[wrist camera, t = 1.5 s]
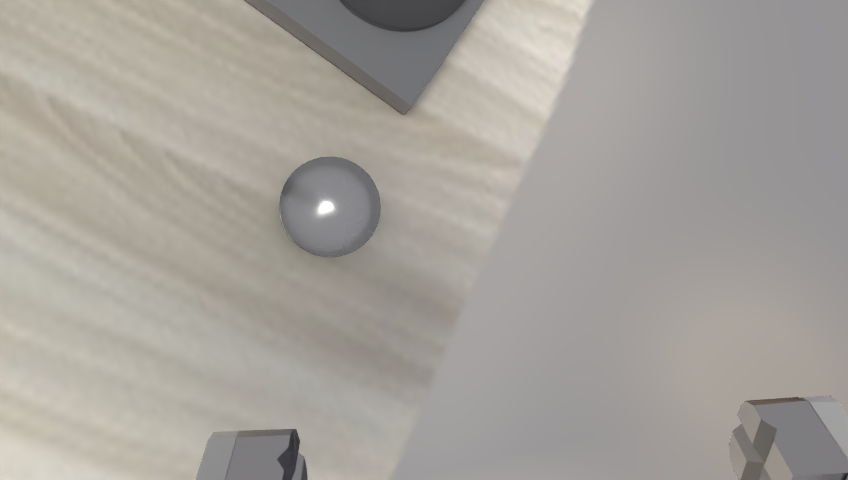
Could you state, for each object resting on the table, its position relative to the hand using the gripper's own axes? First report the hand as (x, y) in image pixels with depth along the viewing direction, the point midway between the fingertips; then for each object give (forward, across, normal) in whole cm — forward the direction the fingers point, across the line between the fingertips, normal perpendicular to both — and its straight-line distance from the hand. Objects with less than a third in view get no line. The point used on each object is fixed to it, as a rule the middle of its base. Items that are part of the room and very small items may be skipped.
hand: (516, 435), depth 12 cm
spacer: (+28, +9, +12) cm, 32 cm away
